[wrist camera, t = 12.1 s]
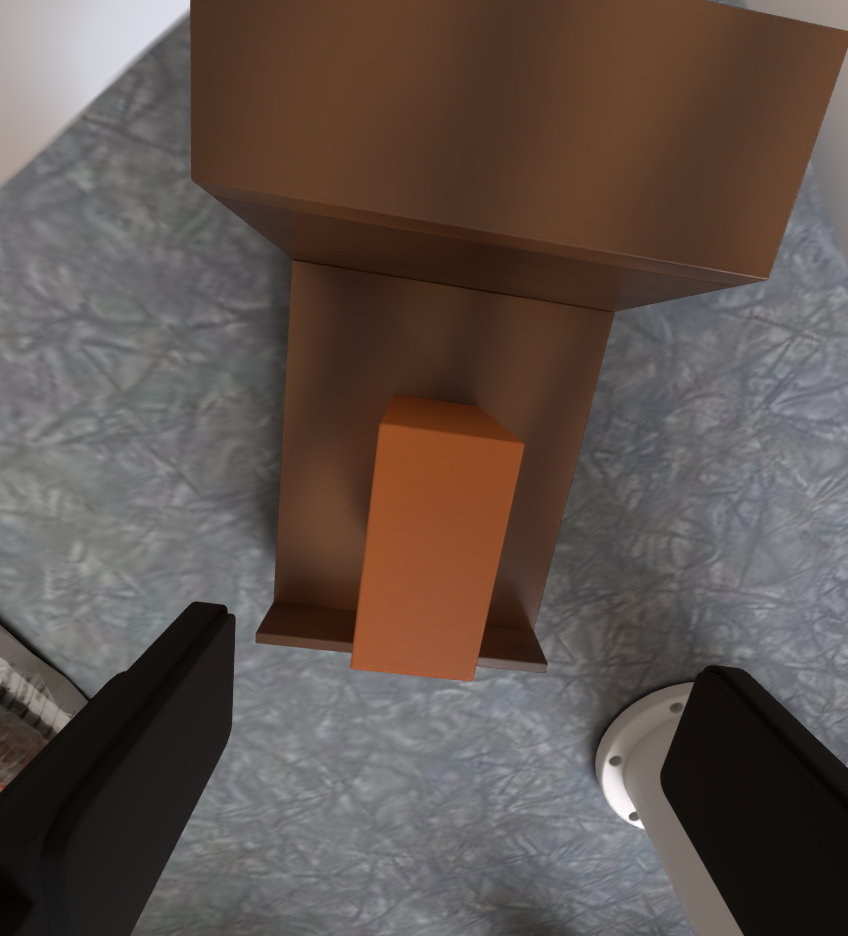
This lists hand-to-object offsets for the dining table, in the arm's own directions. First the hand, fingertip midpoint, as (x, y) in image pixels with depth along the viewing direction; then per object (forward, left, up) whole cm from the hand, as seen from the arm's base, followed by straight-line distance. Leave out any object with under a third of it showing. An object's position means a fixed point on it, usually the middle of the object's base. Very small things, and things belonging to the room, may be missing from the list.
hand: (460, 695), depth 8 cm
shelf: (0, -3, -15) cm, 16 cm away
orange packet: (+1, -1, -12) cm, 12 cm away
